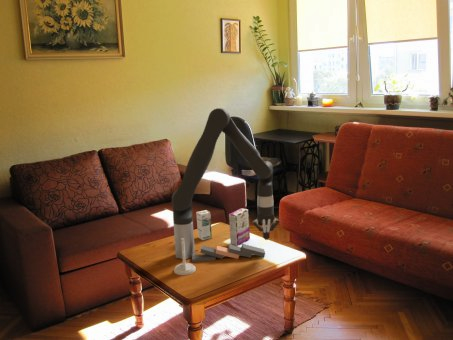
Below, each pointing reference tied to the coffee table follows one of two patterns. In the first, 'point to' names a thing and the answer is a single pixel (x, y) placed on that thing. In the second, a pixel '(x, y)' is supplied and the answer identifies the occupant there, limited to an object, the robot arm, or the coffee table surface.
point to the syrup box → (204, 224)
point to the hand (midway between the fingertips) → (266, 239)
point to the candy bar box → (239, 226)
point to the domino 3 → (225, 252)
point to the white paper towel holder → (184, 264)
